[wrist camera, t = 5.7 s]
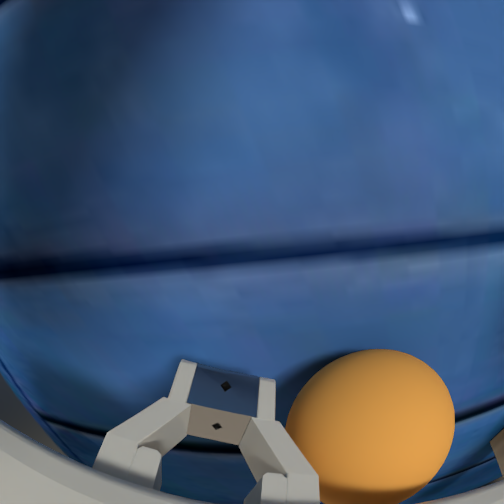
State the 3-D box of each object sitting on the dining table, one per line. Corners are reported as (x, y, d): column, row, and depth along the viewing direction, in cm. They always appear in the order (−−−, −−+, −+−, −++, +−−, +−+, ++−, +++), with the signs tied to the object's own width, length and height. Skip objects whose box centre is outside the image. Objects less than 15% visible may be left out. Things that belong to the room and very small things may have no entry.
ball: (448, 325, 10) (513, 443, 5) (384, 416, 13) (407, 520, 8) (311, 300, 10) (335, 469, 5) (267, 406, 13) (262, 530, 7)
